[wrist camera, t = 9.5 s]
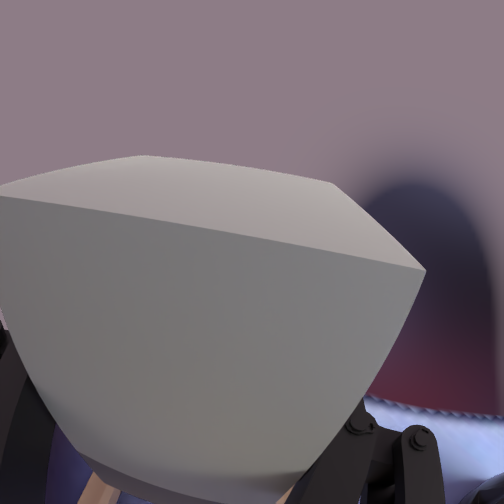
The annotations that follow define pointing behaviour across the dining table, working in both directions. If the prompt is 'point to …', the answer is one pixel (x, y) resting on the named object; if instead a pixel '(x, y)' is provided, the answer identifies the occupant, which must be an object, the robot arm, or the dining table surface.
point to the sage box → (198, 319)
